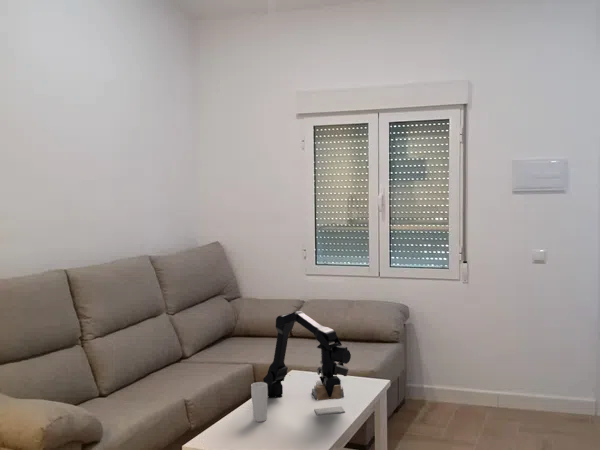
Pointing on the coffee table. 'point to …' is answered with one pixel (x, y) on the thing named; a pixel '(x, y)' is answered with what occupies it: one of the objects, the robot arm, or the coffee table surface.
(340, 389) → the brown rectangular block
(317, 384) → the toggle
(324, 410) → the pad
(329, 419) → the coffee table surface
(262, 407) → the drinking glass
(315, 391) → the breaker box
